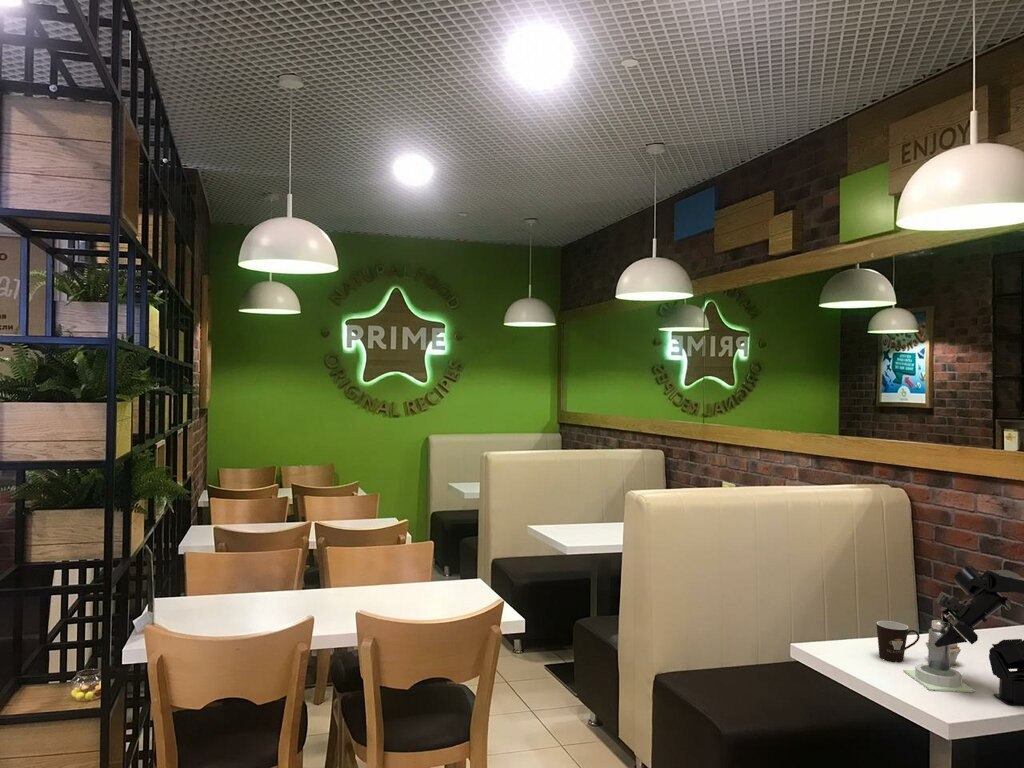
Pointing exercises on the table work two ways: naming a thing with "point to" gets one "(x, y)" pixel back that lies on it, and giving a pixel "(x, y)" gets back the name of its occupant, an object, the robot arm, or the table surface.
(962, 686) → the ring plate
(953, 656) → the cupcake
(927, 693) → the table surface
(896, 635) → the coffee mug
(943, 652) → the metal bottle
